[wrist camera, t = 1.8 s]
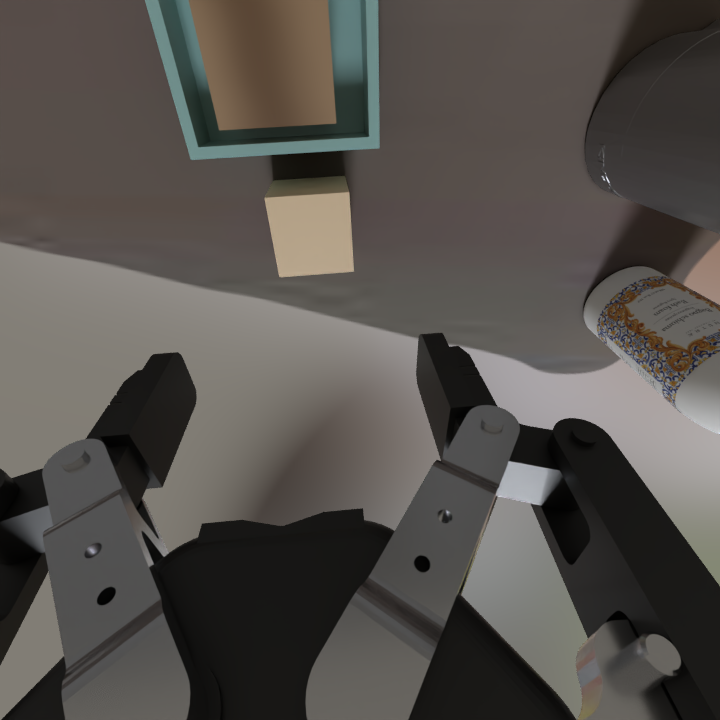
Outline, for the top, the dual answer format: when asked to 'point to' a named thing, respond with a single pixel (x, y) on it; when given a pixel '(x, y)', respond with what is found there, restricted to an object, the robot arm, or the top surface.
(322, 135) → the tote
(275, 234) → the light box
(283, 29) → the block
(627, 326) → the bath foam
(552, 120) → the top surface
